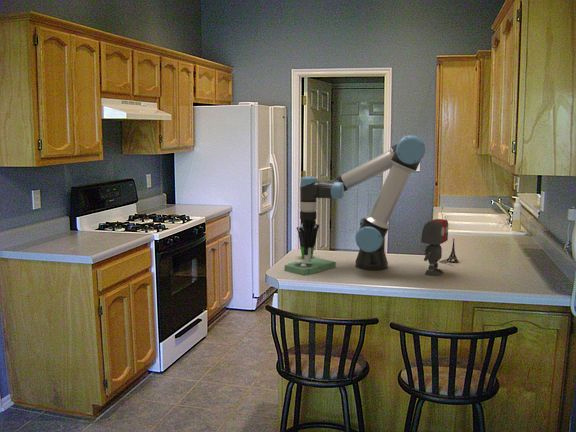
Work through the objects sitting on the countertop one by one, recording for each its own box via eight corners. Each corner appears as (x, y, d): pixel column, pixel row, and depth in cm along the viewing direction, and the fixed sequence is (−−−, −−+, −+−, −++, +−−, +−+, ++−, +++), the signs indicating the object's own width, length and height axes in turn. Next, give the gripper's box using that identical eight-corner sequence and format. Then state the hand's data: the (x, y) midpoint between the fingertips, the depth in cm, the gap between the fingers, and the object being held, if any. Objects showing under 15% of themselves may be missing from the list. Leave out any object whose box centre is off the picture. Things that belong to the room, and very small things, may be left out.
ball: (307, 269, 260) (309, 265, 257) (302, 273, 258) (304, 269, 256) (303, 264, 261) (304, 261, 259) (298, 268, 259) (299, 264, 257)
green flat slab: (315, 262, 275) (315, 257, 274) (337, 267, 265) (337, 262, 264) (282, 270, 259) (283, 264, 259) (305, 275, 249) (305, 270, 249)
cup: (314, 260, 278) (315, 238, 277) (296, 259, 280) (296, 237, 278) (317, 256, 287) (317, 235, 285) (299, 255, 289) (300, 234, 287)
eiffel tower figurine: (449, 258, 287) (451, 232, 285) (468, 262, 280) (470, 235, 278) (434, 263, 276) (436, 236, 274) (454, 267, 269) (455, 239, 267)
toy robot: (435, 279, 244) (439, 211, 239) (415, 276, 248) (418, 209, 244) (450, 269, 262) (453, 205, 257) (431, 267, 267) (433, 203, 262)
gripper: (311, 208, 264) (311, 258, 267) (292, 211, 254) (291, 262, 258) (324, 210, 258) (323, 260, 262) (304, 213, 249) (303, 265, 253)
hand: (307, 261), depth 260 cm, fingers closed
